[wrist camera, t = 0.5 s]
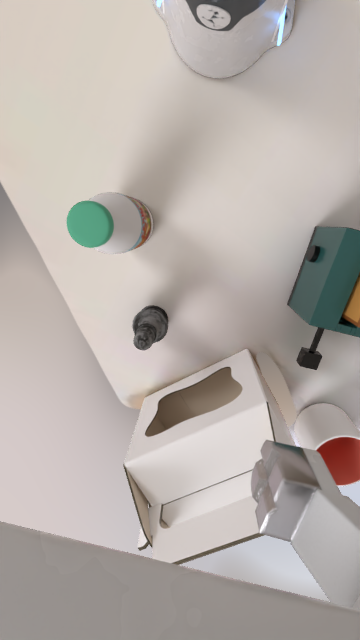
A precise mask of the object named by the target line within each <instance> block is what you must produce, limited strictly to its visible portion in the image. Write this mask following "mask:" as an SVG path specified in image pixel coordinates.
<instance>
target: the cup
mask: <svg viewBox="0 0 360 640" xmlns="http://www.w3.org/2000/svg"><path fill="white" fill-rule="evenodd" d="M294 432H295V435H296V438H297V440H298V442H299V445H300V447H302V448H307V449H311V450H316V451H317V452H319V453H320V455H321V457H322V458H323V460H324V462H325V464H326V466H327V468H328V470H329V472H330V473H331V475H332V477H333V479H334V481H335V483H336V485H337V486H346V485H351V484H354V483H356V482H359V481H360V431H359V430H358V429H357V427H356V426H355V425H354V423H353V422H352V421H351V419H350V418H349V417H348V415H347V414H346V413H345V412H344V411H343V410H342V409H340V408H339V407H337V406H335V405H332V404H327V403H319V404H314V405H311V406H309V407H307V408H305V409H304V410H303V411H302V412H301V413H300V414H299V415H298V417H297V419H296V421H295V425H294Z"/></svg>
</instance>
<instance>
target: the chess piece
mask: <svg viewBox="0 0 360 640" xmlns="http://www.w3.org/2000/svg"><path fill="white" fill-rule="evenodd" d="M167 329H168V317H167V314H166V313H165V311H164V310H163V309H162V308H160V307H158V306H148V307H145V308H144V309H143V310H142V311H141V312H139V313H138V314H137V315H136V316H135V318H134V320H133V331H134V333H135V337H134V345H135V347H136V348H138V349H140V350H147V349H148V348H150V347H151V346H152V344H153V343H155V342H158V341H160V340H161V339H163V338H164V336H165V335H166V333H167Z"/></svg>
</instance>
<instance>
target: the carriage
mask: <svg viewBox="0 0 360 640" xmlns="http://www.w3.org/2000/svg"><path fill="white" fill-rule="evenodd" d="M323 331H324V328H320V327H318V329H317V332H316V334H315V337H314V339H313V342H312V344H311V347H310V349H307V348H303V347H302V348H301V350H300V353H299V355H298V358H297V362H298V364H299V365H300V366H302V367H306V368H310V369H314V370H317V368H318V365H319V363H320V360H321V358H322V355H321V354H320V353H319V352H318V351H316V348H317V346H318V343H319V341H320V339H321V336H322V334H323Z"/></svg>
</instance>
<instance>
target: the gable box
mask: <svg viewBox="0 0 360 640" xmlns="http://www.w3.org/2000/svg"><path fill="white" fill-rule="evenodd" d="M266 440H270V441H275V442H279V443H283V444H288V445H292V446H296V445H295V443H294V440H293V438H292V436H291V433H290V431H289V429H288V426H287V424H286V422H285V419H284V417H283V415H282V412H281V410H280V408H279V405H278V403H277V402H276V400H275V398H274V396H273V394H272V392H271V390H270V389H269V387H268V385H267V383H266V381H265V379H264V378H263V376H262V374H261V372H260V370H259V368H258V366H257V365H256V363H255V361H254V359H253V357H252V355H251V354H250V352H249V350H248V349H245V350H243V351H240V352H238V353H236V354H234V355H232V356H230V357H228V358H226V359H224V360H222V361H220V362H218V363H215V364H213V365H211V366H209V367H207V368H205V369H203V370H201V371H199V372H197V373H195V374H193V375H191V376H188V377H186V378H184V379H182V380H180V381H178V382H176V383H174V384H172V385H170V386H168V387H166V388H163V389H161V390H159V391H157V392H155V393H153V394H151V395H149V396H147V397H145V399H144V402H143V405H142V408H141V411H140V415H139V418H138V421H137V424H136V427H135V430H134V433H133V437H132V440H131V443H130V446H129V449H128V453H127V455H126V459H125V462H124V469H125V472H126V476H127V479H128V482H129V486H130V489H131V493H132V496H133V500H134V503H135V507H136V510H137V513H138V516H139V520H140V524H141V525H140V533H139V543H138V549H139V550H143V549H145V548H146V547H147V546H148V545H149V544H150V546H151V547H152V551H153V552H152V559H156V560H160V561H164V562H168V563H172V564H176V565H179V564H182V563H185V562H188V561H191V560H194V559H196V558H200V557H203V556H206V555H209V554H211V553H214V552H217V551H220V550H223V549H226V548H229V547H232V546H235V545H237V544H240V543H243V542H246V541H249V540H252V539H255V538H258V537H261V536H264V534H260V533H259V528H258V523H257V518H256V513H255V510H256V507H257V505H258V503H257V502H256V501H255V499H254V498H253V497H252V492H251V477H252V471H253V468H254V466H255V463H256V462H257V461H259V460H260V459H262V455H261V451H260V450H261V448H262V446H263V443H264V442H265V441H266ZM148 504H149V508H148Z"/></svg>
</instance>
